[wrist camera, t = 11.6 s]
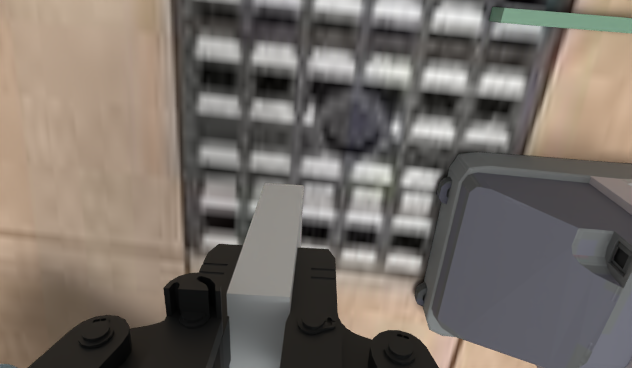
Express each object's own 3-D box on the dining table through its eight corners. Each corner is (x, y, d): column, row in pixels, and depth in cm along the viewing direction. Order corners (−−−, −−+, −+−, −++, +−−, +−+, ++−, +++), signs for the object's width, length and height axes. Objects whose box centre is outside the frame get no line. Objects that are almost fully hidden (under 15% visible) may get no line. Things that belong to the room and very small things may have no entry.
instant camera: (564, 339, 46) (661, 484, 32) (388, 301, 44) (411, 435, 31) (677, 172, 37) (878, 276, 23) (460, 120, 35) (537, 197, 22)
